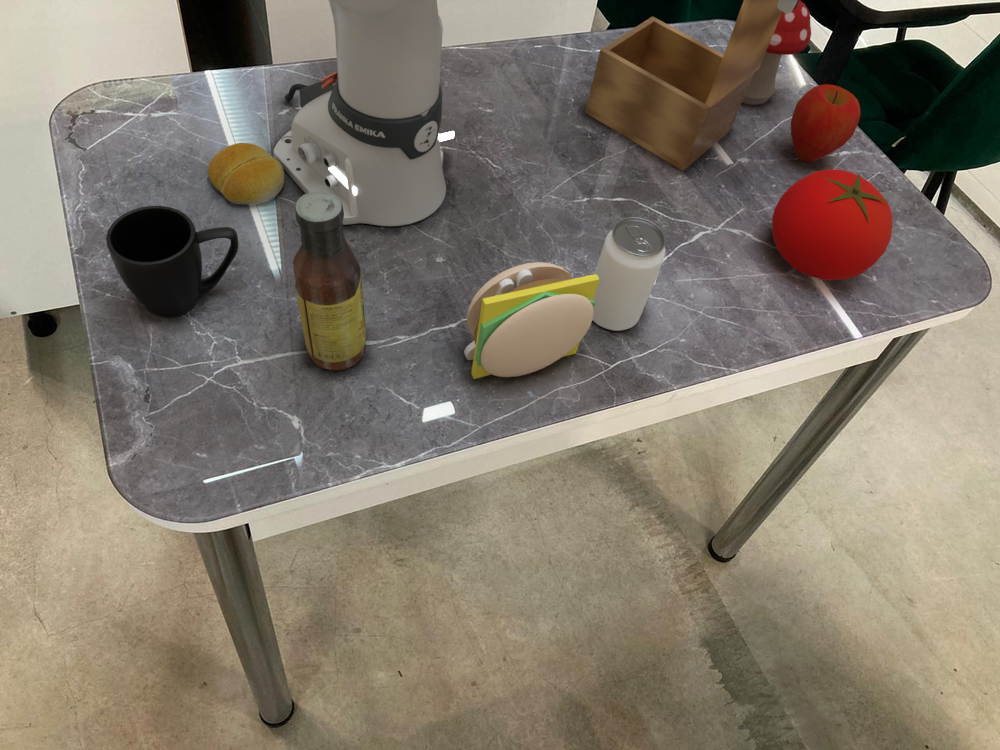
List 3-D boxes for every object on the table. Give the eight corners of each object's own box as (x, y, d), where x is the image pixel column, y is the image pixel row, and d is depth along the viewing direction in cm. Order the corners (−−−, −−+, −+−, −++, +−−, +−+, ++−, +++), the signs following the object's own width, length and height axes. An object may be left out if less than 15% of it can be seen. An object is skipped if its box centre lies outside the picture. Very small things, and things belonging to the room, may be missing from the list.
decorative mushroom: (763, 74, 124) (804, -20, 112) (792, 108, 120) (838, 14, 108) (708, 81, 122) (744, -15, 109) (736, 116, 117) (776, 20, 105)
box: (584, 112, 113) (599, 49, 105) (634, 78, 120) (652, 16, 112) (682, 171, 108) (706, 109, 100) (729, 132, 115) (755, 70, 107)
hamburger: (554, 312, 91) (574, 236, 81) (584, 369, 86) (609, 296, 77) (454, 335, 87) (463, 258, 77) (481, 395, 83) (494, 322, 73)
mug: (250, 319, 85) (237, 257, 77) (130, 332, 82) (103, 268, 74) (245, 263, 89) (233, 199, 82) (131, 273, 87) (106, 208, 79)
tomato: (765, 209, 105) (802, 137, 96) (866, 242, 104) (914, 172, 95) (751, 274, 98) (790, 203, 89) (860, 310, 97) (912, 241, 87)
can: (595, 336, 89) (621, 262, 79) (577, 293, 93) (599, 217, 83) (648, 328, 91) (679, 254, 81) (628, 286, 94) (656, 211, 85)
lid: (756, -36, 86) (795, -17, 84) (809, -70, 92) (846, -54, 91) (705, 105, 100) (737, 123, 98) (753, 66, 106) (785, 82, 105)
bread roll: (241, 218, 93) (236, 191, 90) (200, 176, 97) (193, 149, 93) (300, 190, 97) (297, 164, 94) (259, 150, 101) (254, 124, 97)
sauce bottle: (378, 351, 84) (377, 211, 68) (333, 384, 81) (320, 245, 65) (336, 316, 87) (325, 172, 71) (291, 347, 83) (269, 204, 67)
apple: (831, 144, 116) (867, 78, 107) (837, 182, 111) (876, 116, 102) (773, 133, 116) (805, 66, 107) (777, 170, 111) (810, 104, 102)
